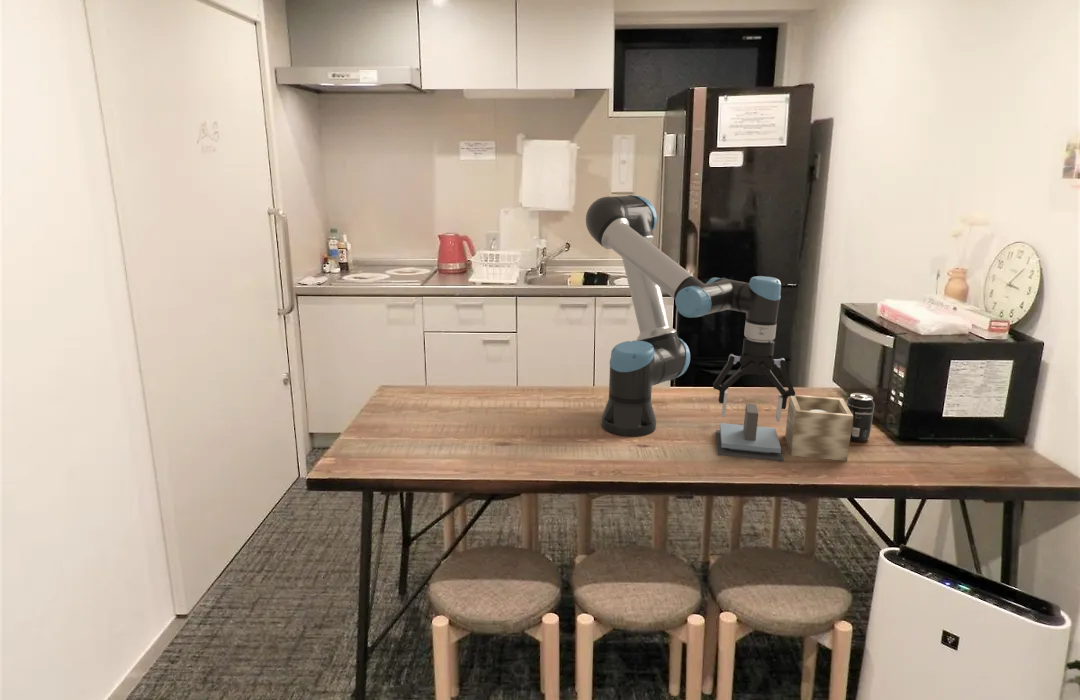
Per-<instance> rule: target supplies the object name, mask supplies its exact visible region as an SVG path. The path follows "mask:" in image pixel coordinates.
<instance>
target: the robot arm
mask: <svg viewBox="0 0 1080 700" xmlns="http://www.w3.org/2000/svg"><path fill="white" fill-rule="evenodd" d="M657 222H658V215H657V211H656V209H655V206H654V204H653V203H652V202H651V201H650V200H649V199H647V198H646V197H643V196H641V195H634V194H628V195H620V196H619V195H618V196H603V197H600V198H597V199H596V200H594V201H593V202H592V204H590V206H589V208H588V209H587V211H586V215H585V225H586V229H587V231H588V233H589V235H590V236H591V237H592V239H594V240H595V241H596V242H597V243H598V245H600V246H601V247H602V248H604V249H606V250H613V251H614V252H615V253H616V254H618V255H619V256H620V257H621V259H622V263H623V267H624V271H625V275H626V279H627V284H628V288H629V293H630V296H631V301H632V305H633V309H634V313H635V317H636V322H637V325H638V326H637V327H638V330H639V335H638V336H637V338H636V340H631V341H630V340H627V341H623V342H620V343H617V344H616V345H615V346H614V347H612V349H611V353H610V359H609V383H608V399H607V402H606V404H605V407H604V410H603V412H602V415H601V423H600V424H601V427H602V429H603V430H605V431H606V432H609V433H611V434H615V435H619V436H625V437H640V436H647V435H650V434H652V433H653V432H654V431H655V430H656V429H657V427H656V426H657V419H656V415H655V411H654V407H653V403H652V390H653V386H657V385H659V384H662V383H666V382H668V381H669V382H670V381H674V380H676V378H677V379H678V378H679V377H681V376H682V375H684V374H685V373H686V372H687V370H688V368H689V365H690V362H691V352H690V348H689V346H688V345H687V343H686V342H685V341H684V340H683V339H681V338H680V337H679V336H678V332H677V330H676V329H675V328H673V327H672V326H670V325H671V324H670V323H669V318H668V314H667V310H666V306H665V301H664V298H663V294H662V290H663V292H664V293H666V294H668V295H669V296H670V297H671V298H672V299H673V300H675V306H676V307H675V308H677V311H678V313H679V314H680V315H681V316H683V317H685V318H699V317H705V315H710V314H714V313H719V312H724V311H726V310H727V311H736V312H740V313H745V325H744V332H743V334H744V338H743V344H742V352H741V355H739V356H738V355H734V353H729V355H728V359H727V362H726V364H725V365H724V366H723V368H722V370H721V371H720V373H719V374H718V376H717V377H716V378H715V380H714V381H713V383H712V387H713V388H712V389H714V390H717V391H719V393H718V394H719V395H718V403H719V404H722V408H721V417H724V418H726V412H727V411H726V410H727V402H728V401H727V400H728V389H730V387H731V386H733V384H735V383H736V382H737V381H738V380H739V379H741V377H742V376H745V374H746V373H747V374H749V375H757V376H763V375H765V376H767V378H768V379H769V381H771V383H772V384H773V386H775V388H776V390H777V391H778V392H779V394H778V396H777V403H776V409H775V410H776V412H775V421H776V423H780V421H781V416H782V410H785V409H786V408H787V401H788V398H790V396H795V395H796V391H795V389H794V387H793V384H792V381H791V378H790V376H789V374H788V371H787V369H786V363H787V362H786V359H785V358H784V357H780V358H774V350H775V343H776V342H775V339H776V335H777V334H776V332H777V324H778V314H779V308H780V307H779V306H780V303H781V302H780V301H781V298H782V297H781V293H782V292H781V291H782V290H781V289H782V283H781V280H780V279H779V278H776V277H773V276H763V275H757V276H752V277H751V278H750V280H749V282H744V281H739V280H734V279H728V278H726V277H721V278H720V277H711V278H710V279H709V280H708V281H707V282H706V283H703V282H702V280H700V279H698V278H697V277H695V275H693V274H692V273H691V272H689V271H688V270H686V269H685V268H684V267H682V266H681V265H680V264H679V263H677V262H676V261H675V260H673V258H671V257H670V256H669V255H667V254H666V253H664V252H663V251H662V250H661V249H659V248H658V247H657V246H656V245H654V244H653V243H652V241H653V240H654V238H655V236H654V233H653V231H654V230H655V229H656V224H657ZM738 362H739V363H740V364H741V366H740V367H739V368H737V370H736V371H735V372H734V373H732V375H731V376H729V378H727V379H726V380H725V378H726V377H727V375H728V374H729V372H730V371H731V369H732V368H733V366H734V365H736V364H737V363H738ZM774 365H776V368H779V370H780V372H781V374H782V378H783V380H784V381H785V384H786V387H787V390H786V389H785V388H784V387H783V385H782V383H781V382H780V381H779V379H778V378H777V377H776V376H775V375H774V373H773V372H772V370H771V368H772V367H773V366H774ZM724 380H725V381H724ZM723 381H724V382H723ZM722 382H723V383H722Z"/></svg>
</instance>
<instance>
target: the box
mask: <svg viewBox="0 0 1080 700" xmlns="http://www.w3.org/2000/svg"><path fill="white" fill-rule="evenodd" d="M788 398H789V401H788V408H787V416H786V417H787V418H786V425H785V434H784V437H785V439H786V440H785V441H786V443H787V446H788V449H789V454H790V456H791V457H803V458H811V459H812V458H814V459H823V460H824V459H825V460H834V461H844V462H845V461H846V462H847V461H848V455H849V449H850V442H851V440H850V437H851V430H852V423H853V415H852V413H851V411H850V409H849V408H848V406H847V402H846V401H845V400H844V398H841V397H839V398H838V397H827V396H818V395H817V396H814V395H805V394H804V395H802V394H795V396H789V397H788ZM811 410H823V411H826V412H818V411H811Z"/></svg>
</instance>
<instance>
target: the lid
mask: <svg viewBox="0 0 1080 700" xmlns="http://www.w3.org/2000/svg"><path fill="white" fill-rule="evenodd" d="M758 420H759V410H758V406H757V404H756V403H745V412H744V420H743V424H736V423H735V424H734V423H723V422H720V423H719V430H720V435H721V447H722V448H730V449H731V450H741V451H751V452H762V453H770V452H773V453H781V451H782V447H781V444H780V440H779V437H778V433H777V430H776V427H771V426H770V427H769V426H768V427H767V426H759V425H758V422H759V421H758Z"/></svg>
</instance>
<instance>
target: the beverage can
mask: <svg viewBox="0 0 1080 700" xmlns="http://www.w3.org/2000/svg"><path fill="white" fill-rule="evenodd" d="M849 396H850V397H848V398H847V400H846V404H847V406H848V408H849V409H850V411H851V413H852V415H853V423H852V430H851V437H850V441H853V442H865V441H867V440H869V439H870V437H871V431H872V424H873V418H874V411H875V402H874V401H873V399H874V397H873V396H872V395H870V394H867V393H863V392H862V393H861V392H853V393H850V395H849Z"/></svg>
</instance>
